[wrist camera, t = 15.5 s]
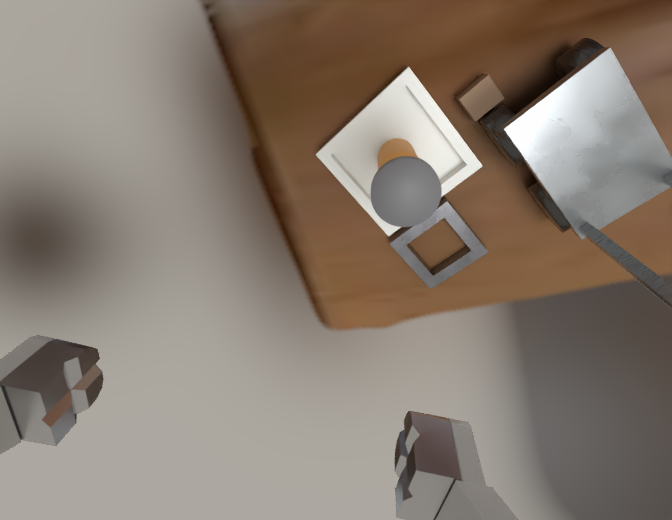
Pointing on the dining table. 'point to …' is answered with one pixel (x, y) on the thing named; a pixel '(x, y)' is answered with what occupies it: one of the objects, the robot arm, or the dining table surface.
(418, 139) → the tray
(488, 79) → the block
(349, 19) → the dining table surface
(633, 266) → the trolley
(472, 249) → the socket
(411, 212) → the pin
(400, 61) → the dining table surface
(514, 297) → the dining table surface
